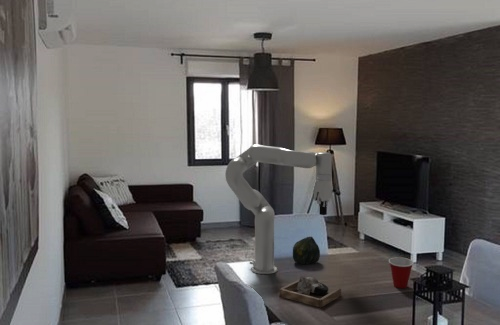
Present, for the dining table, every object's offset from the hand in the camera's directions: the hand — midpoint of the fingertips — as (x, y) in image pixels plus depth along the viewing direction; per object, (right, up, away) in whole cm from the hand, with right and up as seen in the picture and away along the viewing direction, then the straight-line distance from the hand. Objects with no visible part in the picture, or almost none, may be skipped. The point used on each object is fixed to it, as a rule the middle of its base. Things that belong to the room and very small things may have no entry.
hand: (323, 214), depth 228 cm
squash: (-6, -28, +19) cm, 34 cm away
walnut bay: (-10, -31, -29) cm, 44 cm away
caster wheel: (-8, -32, -26) cm, 42 cm away
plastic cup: (+32, -31, -18) cm, 48 cm away
